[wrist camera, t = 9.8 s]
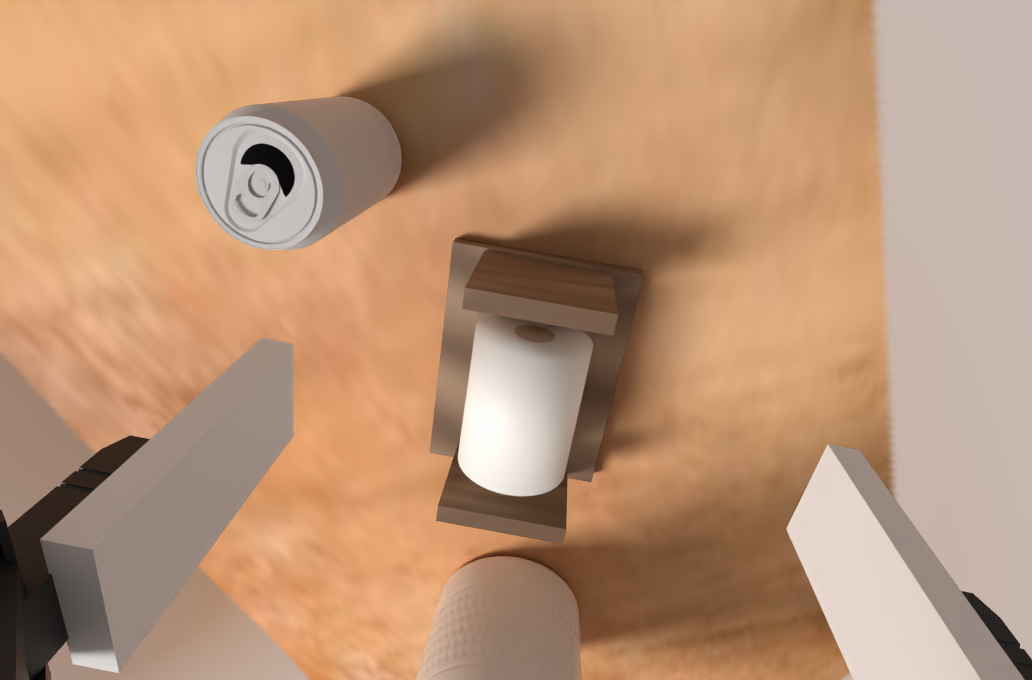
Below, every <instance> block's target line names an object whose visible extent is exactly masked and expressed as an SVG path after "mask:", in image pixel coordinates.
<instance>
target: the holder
mask: <svg viewBox="0 0 1032 680" xmlns="http://www.w3.org/2000/svg"><path fill="white" fill-rule="evenodd" d="M643 277H644V275H643V272H642V271H641V270H635V269H629V268H623V267H618V266H612V265H606V264H601V263H595V262H589V261H583V260H578V259H572V258H566V257H560V256H555V255H549V254H543V253H538V252H532V251H526V250H520V249H515V248H509V247H503V246H497V245H492V244H486V243H480V242H475V241H469V240H463V239H457V238H456V239H455V240H454V241H453V246H452V255H451V264H450V273H449V282H448V291H447V301H446V310H445V319H444V328H443V337H442V346H441V355H440V364H439V374H438V383H437V392H436V401H435V410H434V419H433V428H432V438H431V447H430V453H435V454H440V455H446V456H451V457H454V458H453V461H452V464H451V467H450V470H449V473H448V477H447V480H446V483H445V486H444V489H443V492H442V495H441V498H440V501H439V505H438V511H437V519H436V521H441V522H446V523H451V524H457V525H462V526H468V527H473V528H478V529H484V530H489V531H495V532H500V533H505V534H511V535H516V536H521V537H527V538H532V539H538V540H543V541H548V542H554V543H559V544H563V540H564V536H565V532H566V514H567V478H571V479H577V480H582V481H588V482H591V481H592V477H593V473H594V469H595V465H596V461H597V457H598V453H599V449H600V445H601V442H602V438H603V434H604V430H605V426H606V422H607V418H608V414H609V410H610V406H611V402H612V398H613V394H614V391H615V387H616V383H617V379H618V375H619V371H620V367H621V363H622V359H623V355H624V351H625V347H626V343H627V340H628V336H629V332H630V328H631V324H632V320H633V316H634V312H635V308H636V304H637V300H638V296H639V292H640V289H641V285H642V281H643ZM489 315H499V316H504V317H510V318H516V319H521V320H527V321H533V322H538V323H544V324H550V325H555V326H561V327H567V328H572V329H578V330H581V331H583V332H584V333H585V334H587V335H588V336H589V337H590V339H591V340H592V342H593V350H592V354H591V359H590V363H589V368H588V372H587V377H586V381H585V386H584V390H583V394H582V399H581V403H580V408H579V412H578V417H577V421H576V426H575V430H574V435H573V439H572V444H571V448H570V453H569V457H568V462H567V466H566V471H565V475H564V478H563V480H562V482H561V483H560V484H559V485H558V486H557V487H556V488H554V489H553V490H551V491H549V492H546V493H543V494H539V495H534V496H511V495H505V494H501V493H497V492H494V491H491V490H488V489H486V488H484V487H482V486H480V485H478V484H476V483H475V482H473V481H472V480H471V479H470V478H468V477H467V476H466V475H465V473H464V472H463V471H462V469H461V468H460V465H459V462H458V451H459V444H460V437H461V430H462V422H463V415H464V408H465V401H466V394H467V387H468V379H469V372H470V365H471V358H472V351H473V344H474V336H475V329H476V324H477V323H478V321H479V320H481V319H482V318H484V317H486V316H489Z"/></svg>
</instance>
